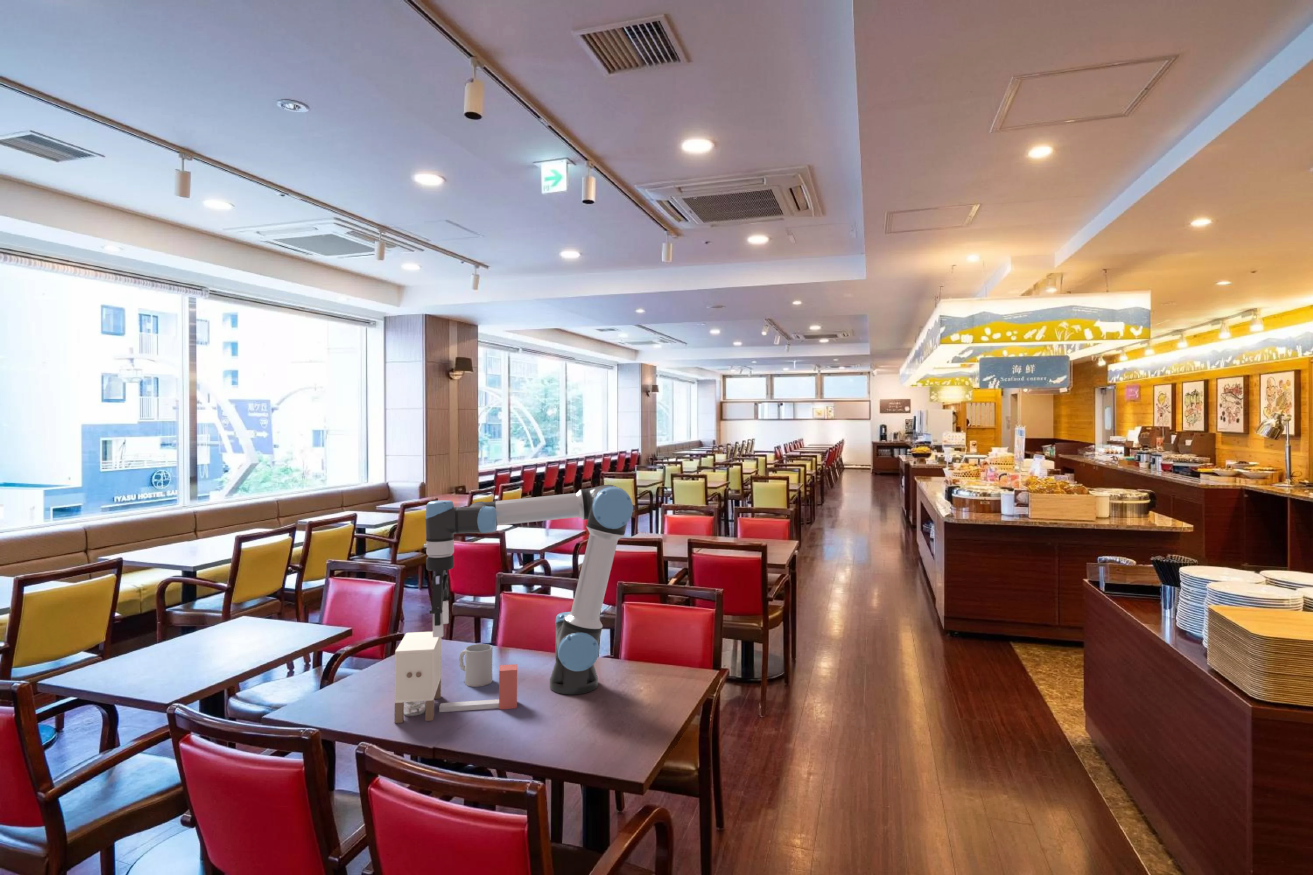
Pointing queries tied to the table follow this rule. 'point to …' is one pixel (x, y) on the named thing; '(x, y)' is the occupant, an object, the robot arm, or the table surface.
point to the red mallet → (504, 702)
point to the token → (414, 708)
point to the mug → (477, 664)
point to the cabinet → (417, 672)
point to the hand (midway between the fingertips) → (441, 629)
